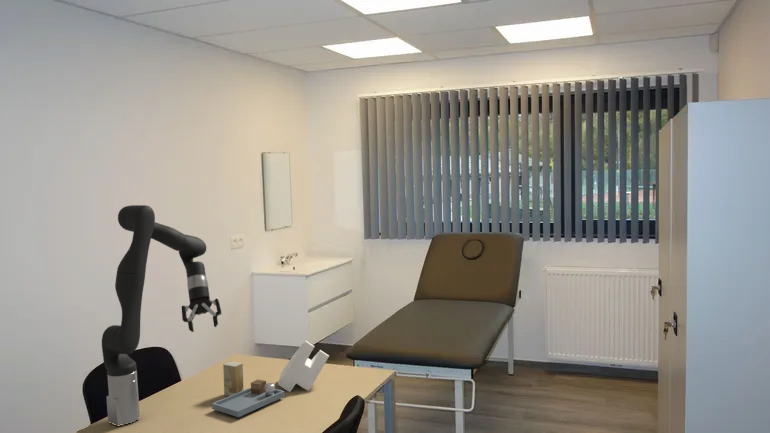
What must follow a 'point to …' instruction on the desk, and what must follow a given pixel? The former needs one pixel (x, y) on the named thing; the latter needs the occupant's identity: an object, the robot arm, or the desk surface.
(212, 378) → the desk surface
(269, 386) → the chrome dome knob
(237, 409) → the blue-grey serving tray
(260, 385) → the walnut block
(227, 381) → the skincare box
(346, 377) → the desk surface
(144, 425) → the desk surface
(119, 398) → the robot arm
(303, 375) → the slotted wedge
